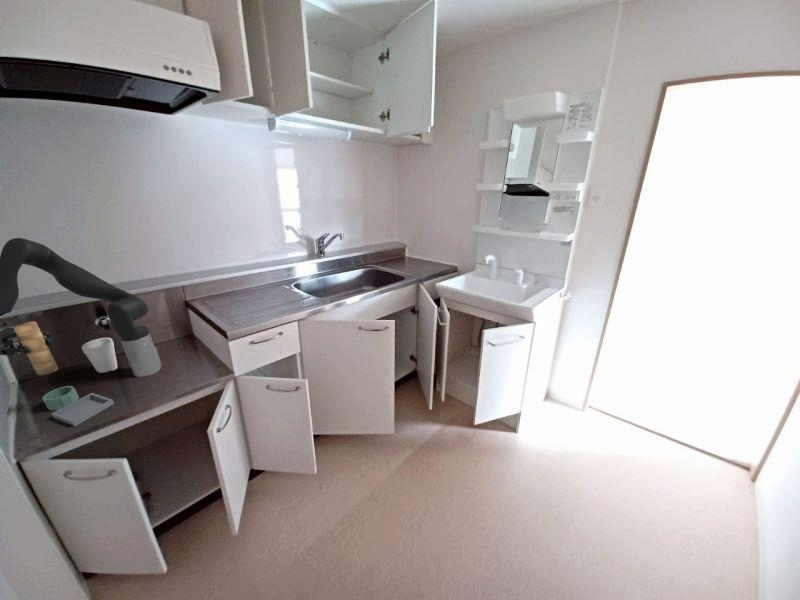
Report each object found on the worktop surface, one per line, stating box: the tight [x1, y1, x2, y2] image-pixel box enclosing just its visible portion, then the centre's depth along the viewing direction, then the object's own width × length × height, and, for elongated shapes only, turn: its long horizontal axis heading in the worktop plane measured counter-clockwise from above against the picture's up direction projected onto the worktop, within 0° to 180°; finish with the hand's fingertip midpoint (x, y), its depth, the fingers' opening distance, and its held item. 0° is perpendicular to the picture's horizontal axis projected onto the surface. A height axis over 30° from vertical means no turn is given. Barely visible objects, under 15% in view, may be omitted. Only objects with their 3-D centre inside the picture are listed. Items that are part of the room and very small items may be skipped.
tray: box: [50, 392, 115, 427], centre depth 109 cm, size 12×12×2 cm
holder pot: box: [41, 385, 80, 411], centre depth 112 cm, size 8×8×5 cm
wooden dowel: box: [12, 321, 59, 376], centre depth 104 cm, size 5×5×18 cm
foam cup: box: [81, 337, 118, 374], centre depth 131 cm, size 10×9×13 cm
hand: (39, 346), depth 103 cm, fingers closed on wooden dowel, 5 cm apart
